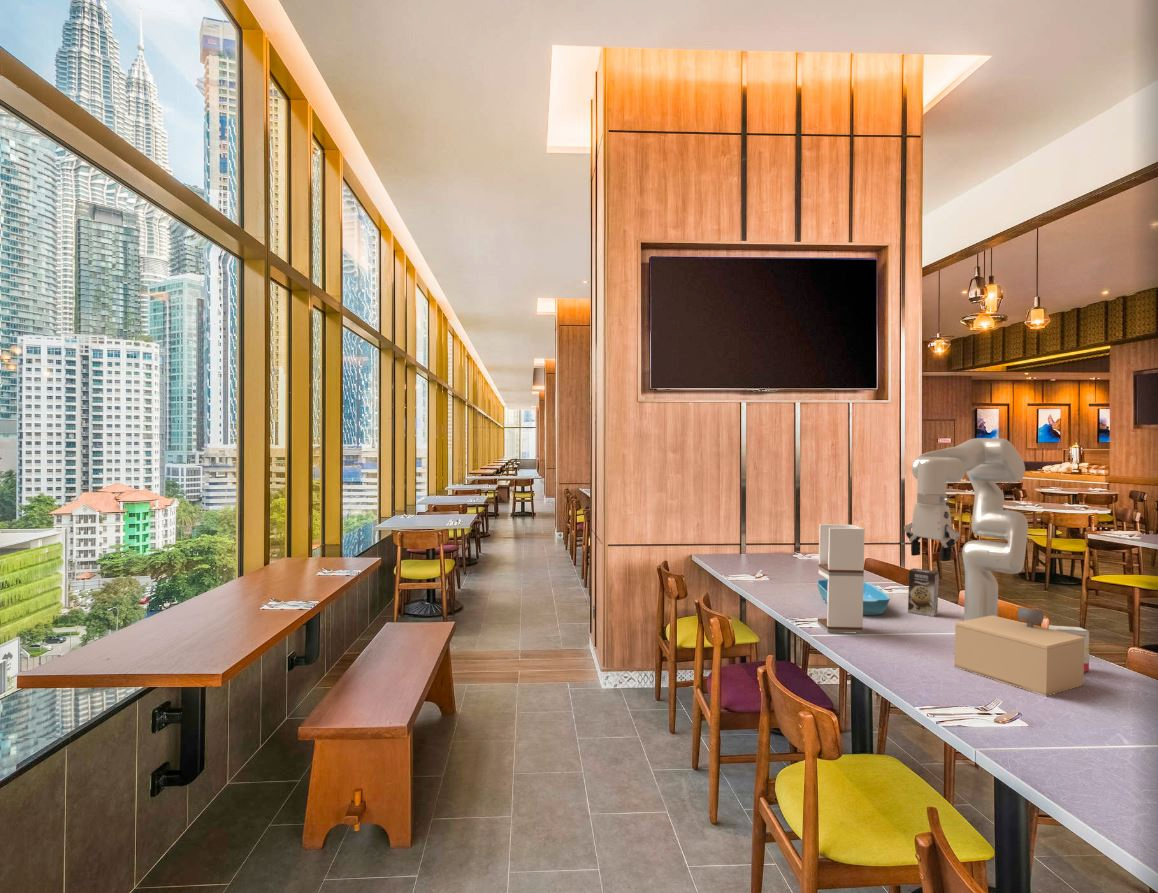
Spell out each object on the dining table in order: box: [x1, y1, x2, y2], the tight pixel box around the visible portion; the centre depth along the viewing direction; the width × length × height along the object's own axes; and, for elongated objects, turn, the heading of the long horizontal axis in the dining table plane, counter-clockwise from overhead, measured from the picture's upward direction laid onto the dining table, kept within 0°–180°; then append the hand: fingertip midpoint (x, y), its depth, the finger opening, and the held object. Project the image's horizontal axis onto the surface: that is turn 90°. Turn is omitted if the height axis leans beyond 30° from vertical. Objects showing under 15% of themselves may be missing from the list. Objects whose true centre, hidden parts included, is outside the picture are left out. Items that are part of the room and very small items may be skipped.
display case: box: [817, 523, 866, 634], centre depth 228 cm, size 11×11×35 cm
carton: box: [954, 625, 1085, 697], centre depth 184 cm, size 18×24×12 cm
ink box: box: [1048, 624, 1090, 673], centre depth 191 cm, size 9×5×12 cm, turn 80°
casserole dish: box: [816, 578, 891, 616], centre depth 262 cm, size 37×22×7 cm, turn 174°
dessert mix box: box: [907, 567, 940, 617], centre depth 251 cm, size 9×6×16 cm
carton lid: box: [955, 606, 1085, 649], centre depth 184 cm, size 18×24×6 cm
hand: (930, 557), depth 197 cm, fingers open, 9 cm apart
